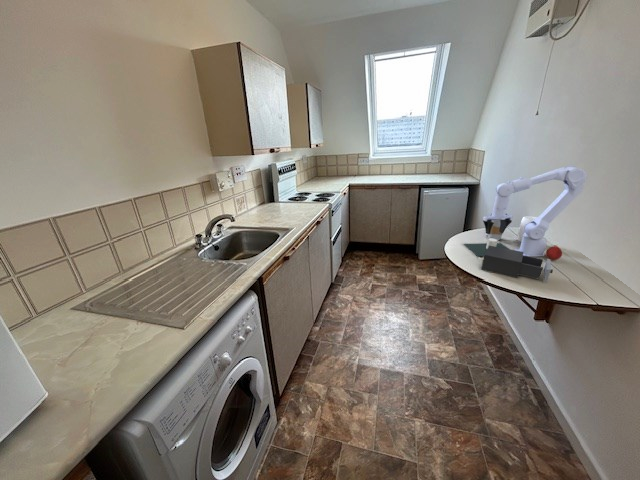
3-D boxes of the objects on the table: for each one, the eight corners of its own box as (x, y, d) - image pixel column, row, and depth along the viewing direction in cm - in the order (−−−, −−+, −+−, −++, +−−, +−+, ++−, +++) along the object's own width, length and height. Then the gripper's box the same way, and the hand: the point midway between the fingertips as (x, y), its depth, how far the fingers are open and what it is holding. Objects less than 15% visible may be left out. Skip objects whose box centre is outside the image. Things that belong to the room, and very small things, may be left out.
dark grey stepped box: (519, 266, 123) (523, 251, 120) (517, 278, 114) (521, 262, 111) (485, 259, 131) (488, 245, 128) (481, 269, 122) (484, 254, 119)
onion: (551, 257, 131) (555, 242, 128) (562, 262, 126) (568, 246, 122) (540, 258, 130) (545, 243, 127) (552, 263, 125) (557, 248, 122)
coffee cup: (505, 240, 151) (511, 215, 145) (490, 241, 151) (496, 216, 146) (497, 235, 159) (502, 211, 153) (482, 236, 159) (487, 211, 153)
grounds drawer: (550, 272, 116) (554, 260, 114) (550, 283, 108) (554, 270, 106) (512, 263, 124) (515, 252, 122) (510, 273, 116) (513, 262, 114)
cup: (538, 245, 144) (546, 220, 139) (524, 246, 144) (530, 221, 138) (526, 239, 152) (532, 215, 147) (512, 240, 152) (518, 216, 146)
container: (496, 248, 141) (498, 239, 140) (494, 250, 139) (496, 242, 137) (487, 246, 145) (489, 237, 143) (484, 248, 142) (486, 240, 140)
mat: (500, 243, 148) (500, 243, 148) (519, 256, 133) (519, 255, 133) (463, 244, 149) (463, 243, 149) (478, 257, 134) (478, 256, 134)
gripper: (492, 210, 129) (486, 236, 134) (519, 208, 130) (513, 234, 135) (482, 207, 135) (477, 231, 140) (508, 205, 136) (503, 229, 142)
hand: (494, 232), depth 138 cm, fingers open, 7 cm apart
